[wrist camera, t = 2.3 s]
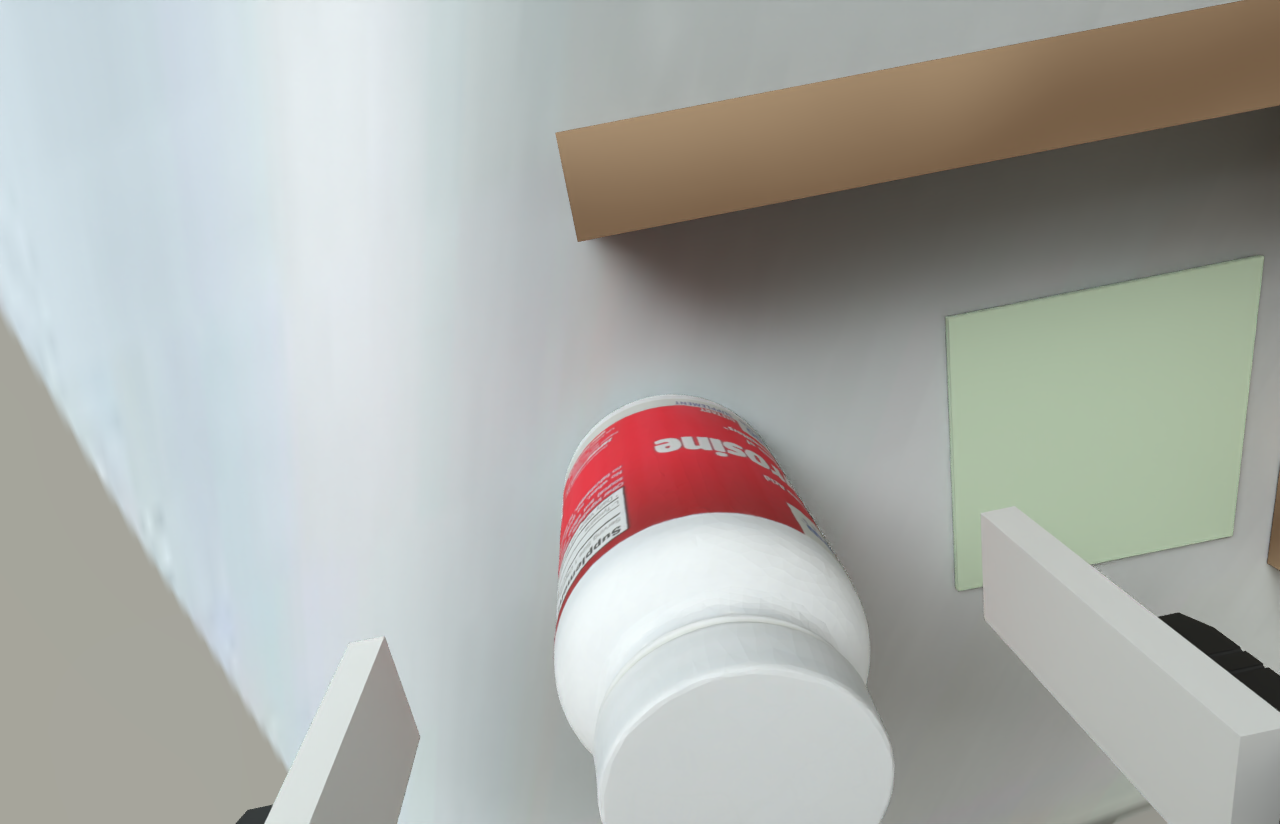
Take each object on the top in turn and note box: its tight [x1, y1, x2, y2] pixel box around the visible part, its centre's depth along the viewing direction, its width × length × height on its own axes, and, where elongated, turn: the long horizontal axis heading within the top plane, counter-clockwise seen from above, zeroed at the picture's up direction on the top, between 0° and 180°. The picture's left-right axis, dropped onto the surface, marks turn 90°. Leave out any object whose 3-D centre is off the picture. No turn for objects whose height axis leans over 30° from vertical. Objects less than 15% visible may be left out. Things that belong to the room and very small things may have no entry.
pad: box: [945, 255, 1264, 591], centre depth 22 cm, size 9×9×1 cm
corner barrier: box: [556, 0, 1280, 571], centre depth 19 cm, size 17×22×5 cm
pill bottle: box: [554, 394, 895, 824], centre depth 17 cm, size 6×6×11 cm
